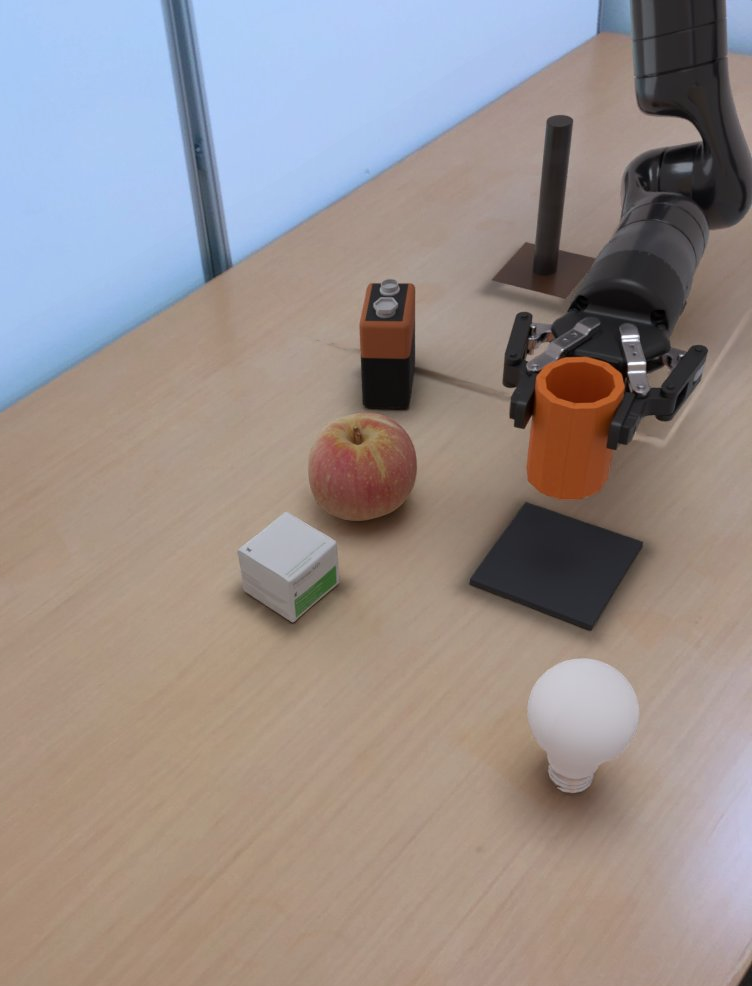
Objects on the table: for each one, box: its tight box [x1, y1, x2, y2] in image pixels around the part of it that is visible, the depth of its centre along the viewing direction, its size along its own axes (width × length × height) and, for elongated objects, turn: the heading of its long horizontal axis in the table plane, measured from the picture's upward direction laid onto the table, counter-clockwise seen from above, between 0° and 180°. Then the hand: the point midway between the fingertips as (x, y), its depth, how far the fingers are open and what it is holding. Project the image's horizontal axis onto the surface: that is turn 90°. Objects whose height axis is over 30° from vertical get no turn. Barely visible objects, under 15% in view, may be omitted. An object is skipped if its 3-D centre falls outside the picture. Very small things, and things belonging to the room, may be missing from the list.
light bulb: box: [526, 657, 640, 794], centre depth 69 cm, size 7×7×11 cm
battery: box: [358, 278, 416, 410], centre depth 99 cm, size 4×7×10 cm, turn 170°
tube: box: [525, 357, 625, 501], centre depth 76 cm, size 6×6×8 cm
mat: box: [469, 501, 644, 631], centre depth 86 cm, size 10×10×1 cm
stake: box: [491, 114, 597, 300], centre depth 106 cm, size 8×8×16 cm
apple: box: [307, 412, 418, 522], centre depth 90 cm, size 9×9×8 cm
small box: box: [237, 511, 340, 623], centre depth 85 cm, size 6×6×5 cm
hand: (566, 428), depth 73 cm, fingers closed on tube, 5 cm apart
